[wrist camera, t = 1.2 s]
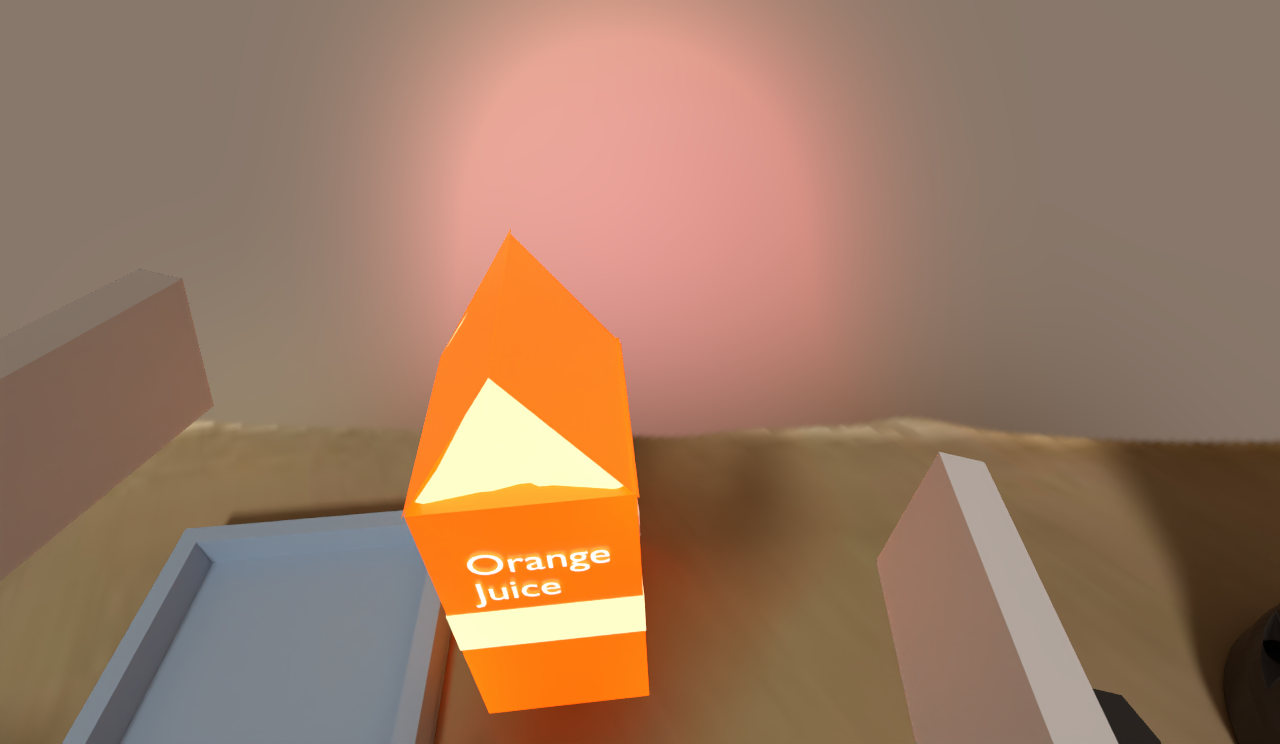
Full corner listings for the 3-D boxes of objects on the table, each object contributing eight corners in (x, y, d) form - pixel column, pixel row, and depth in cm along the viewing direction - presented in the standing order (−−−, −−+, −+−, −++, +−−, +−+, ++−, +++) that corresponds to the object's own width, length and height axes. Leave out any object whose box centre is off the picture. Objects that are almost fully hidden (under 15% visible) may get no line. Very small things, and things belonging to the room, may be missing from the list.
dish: (467, 532, 38) (457, 505, 36) (418, 837, 26) (401, 817, 24) (207, 555, 37) (185, 528, 35) (38, 876, 25) (-5, 858, 24)
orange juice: (635, 540, 37) (614, 219, 24) (652, 697, 30) (634, 364, 17) (499, 554, 36) (403, 235, 24) (484, 715, 30) (339, 390, 17)
